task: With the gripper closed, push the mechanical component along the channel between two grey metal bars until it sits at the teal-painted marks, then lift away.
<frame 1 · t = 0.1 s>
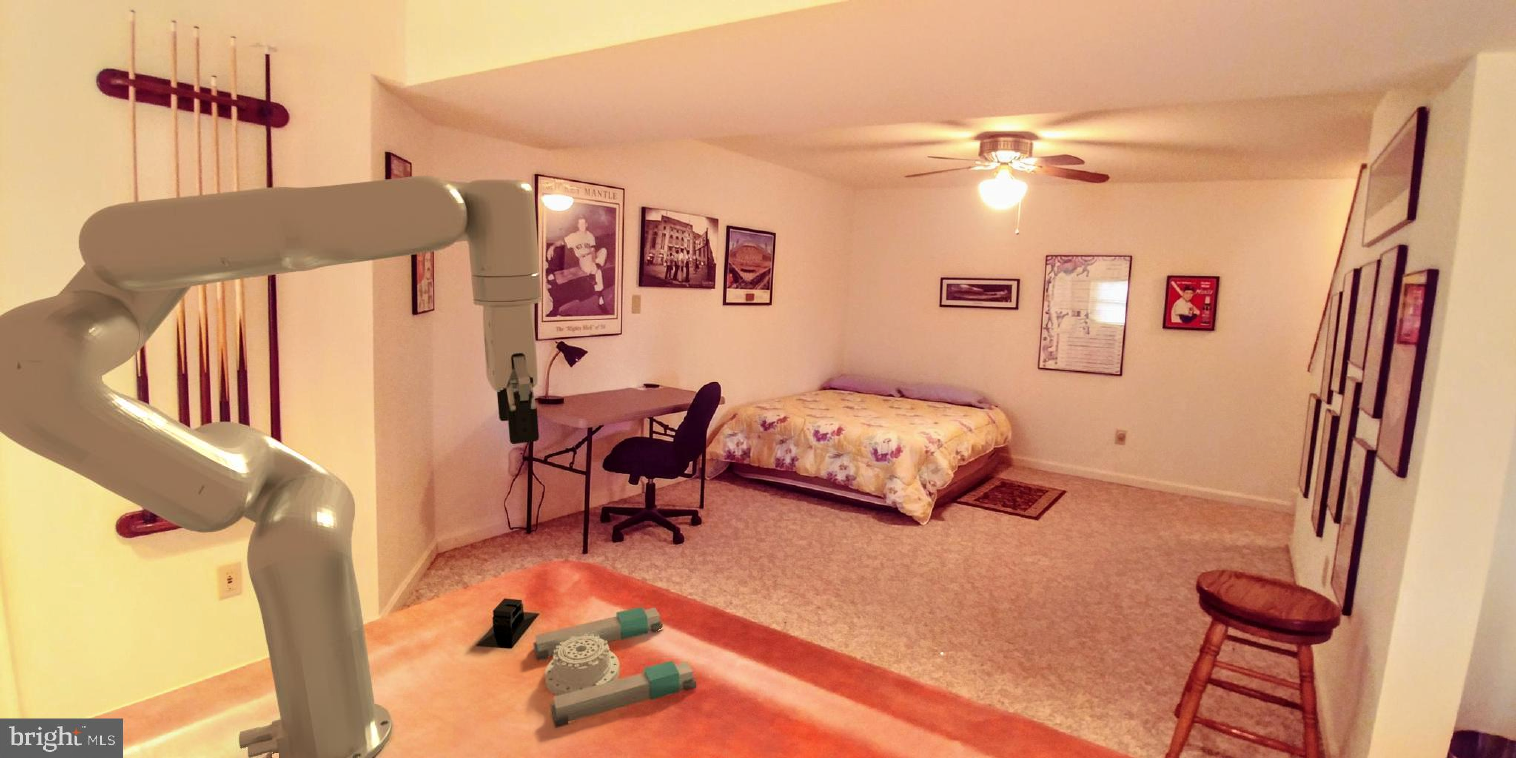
hand: (518, 430, 89), 37 cm above the table, tool pointing down, fingers open, 9 cm apart
mechanical component: (582, 678, 102), on the table
bar rails: (611, 667, 103), on the table
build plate: (509, 632, 113), on the table
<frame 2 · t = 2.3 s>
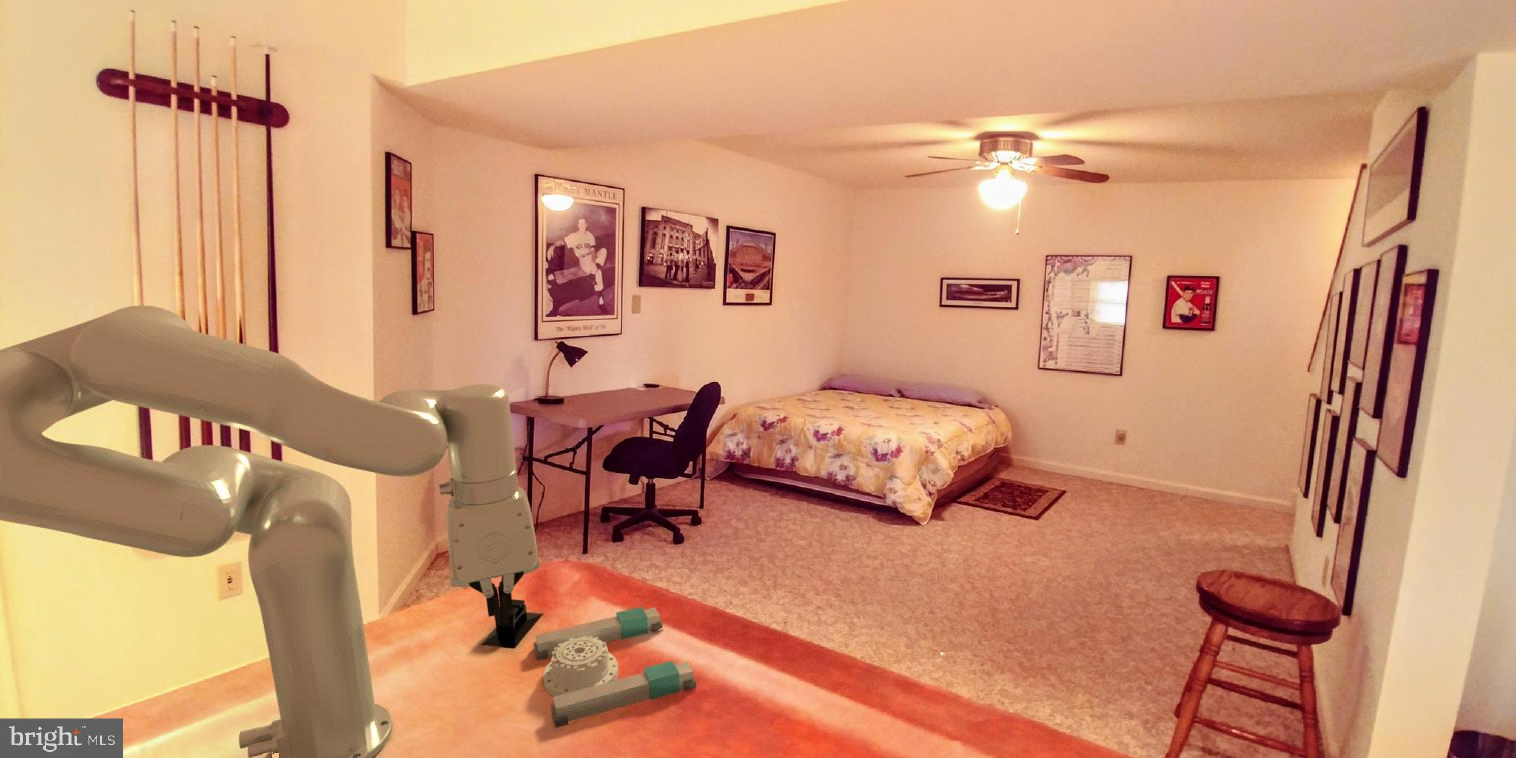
hand: (501, 617, 95), 11 cm above the table, tool pointing down, fingers closed
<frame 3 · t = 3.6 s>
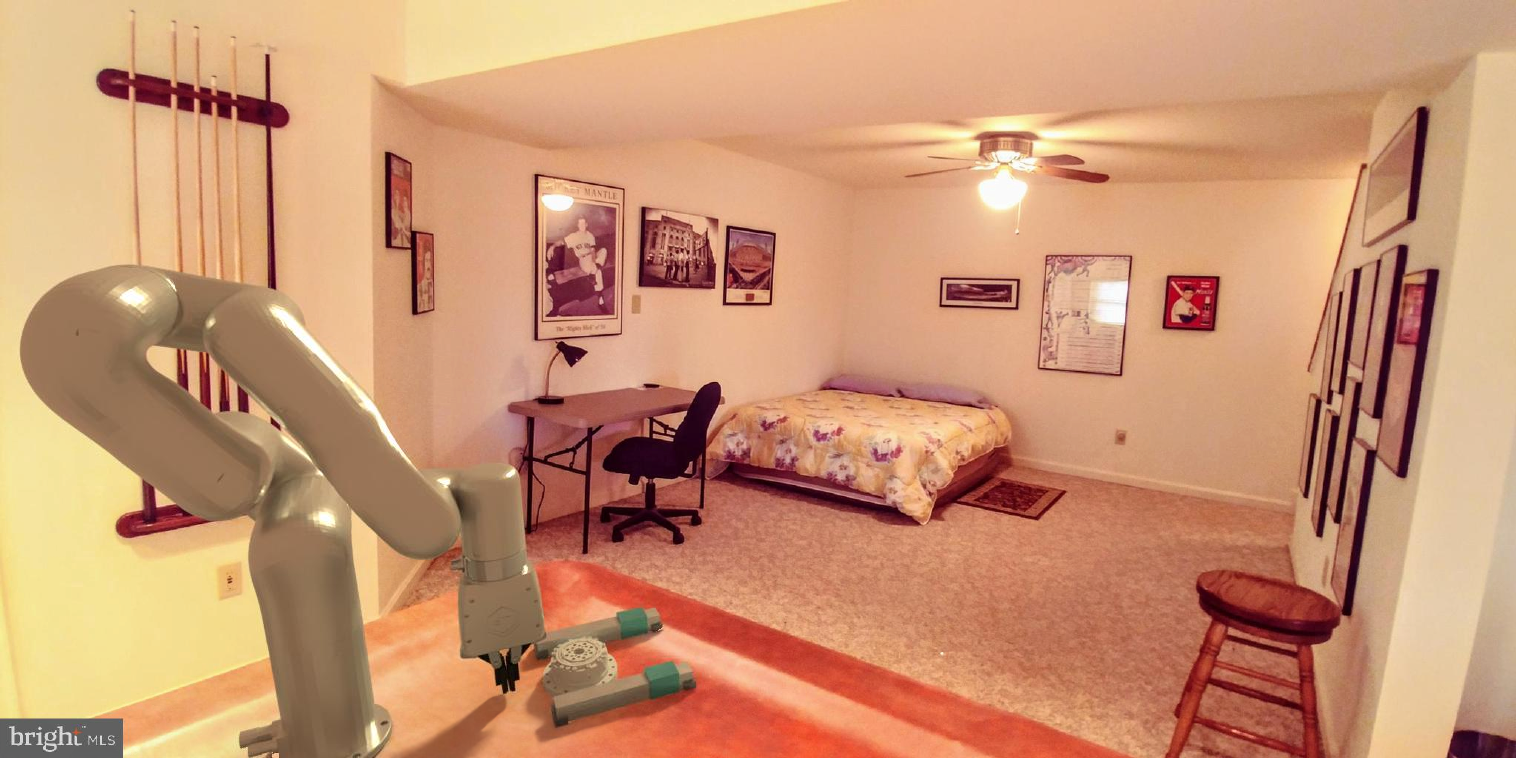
hand: (508, 686, 97), 1 cm above the table, tool pointing down, fingers closed
nothing on the table moved.
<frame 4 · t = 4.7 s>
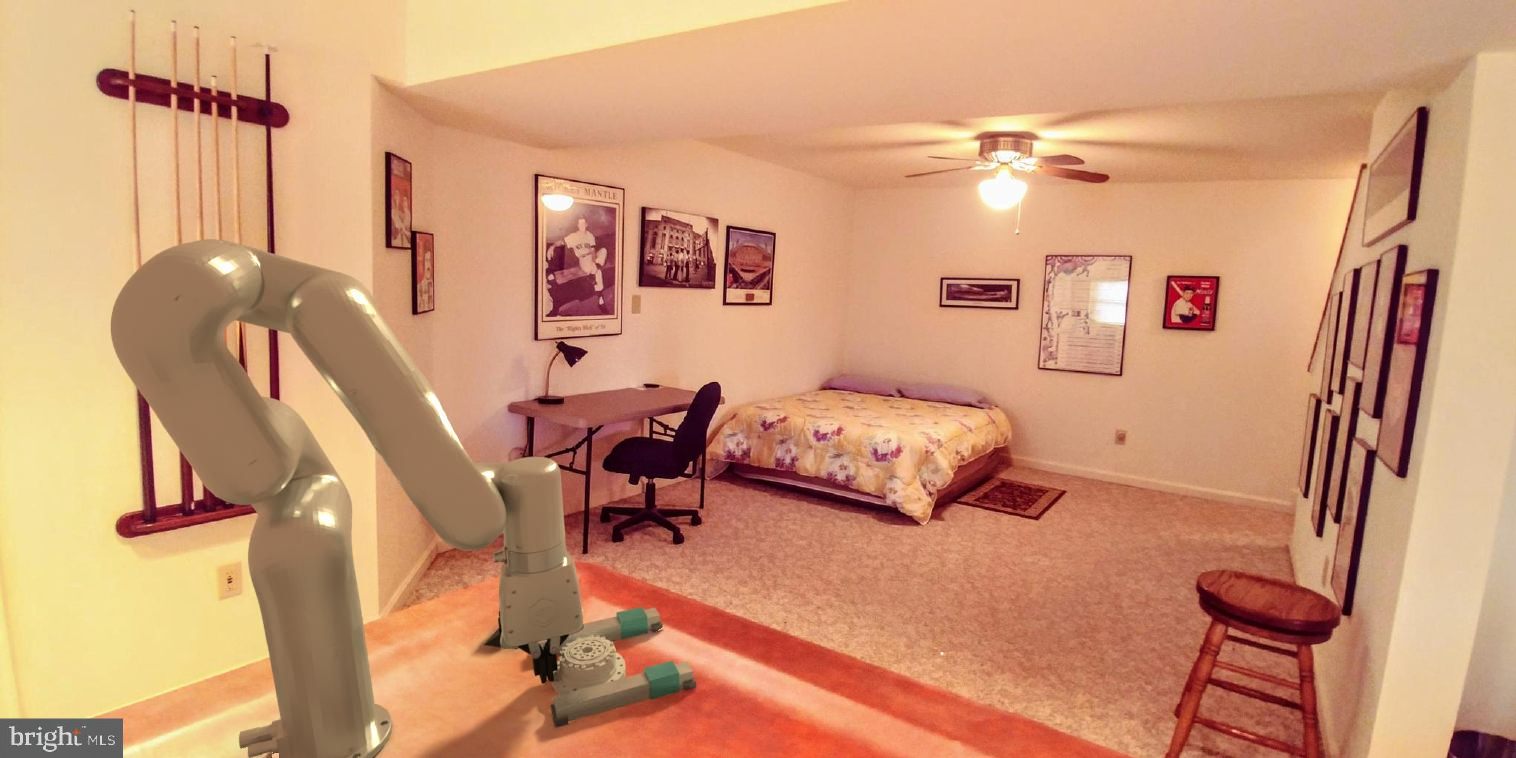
hand: (546, 676, 99), 1 cm above the table, tool pointing down, fingers closed
mechanical component: (589, 679, 101), on the table
everything else where it was.
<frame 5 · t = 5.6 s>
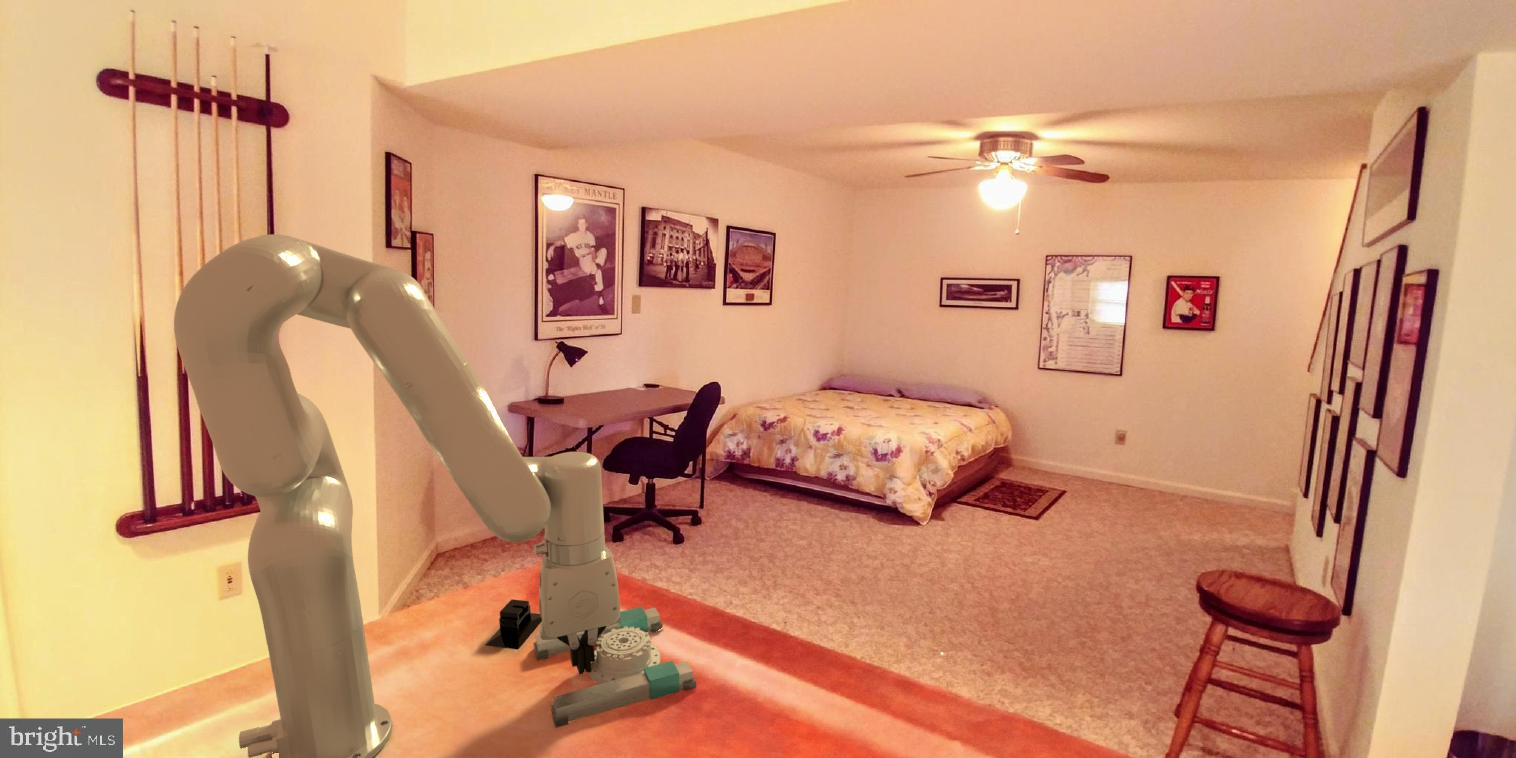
hand: (583, 667, 101), 1 cm above the table, tool pointing down, fingers closed
mechanical component: (624, 669, 103), on the table, touching gripper
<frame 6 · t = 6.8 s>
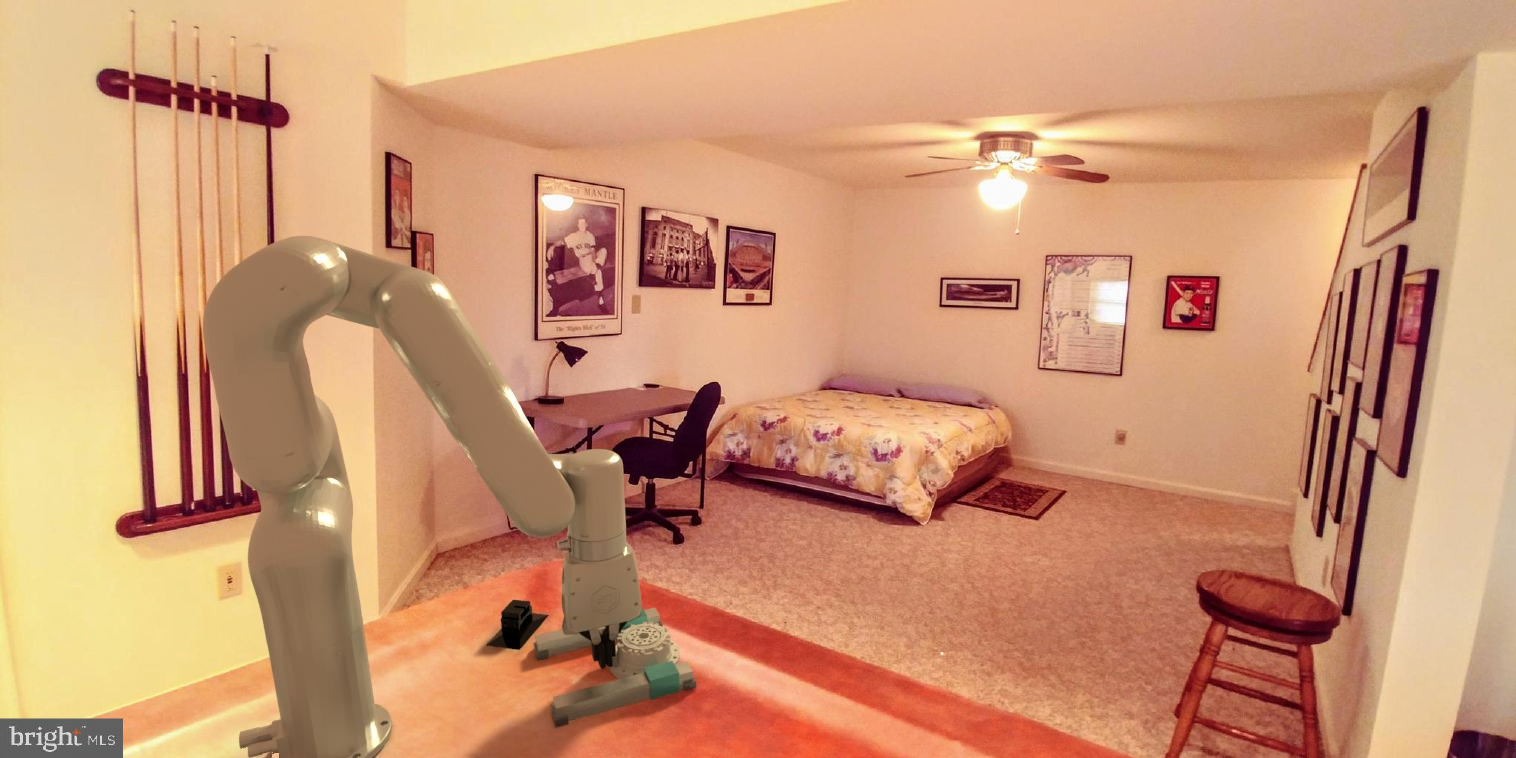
hand: (604, 662, 102), 1 cm above the table, tool pointing down, fingers closed
mechanical component: (644, 664, 105), on the table
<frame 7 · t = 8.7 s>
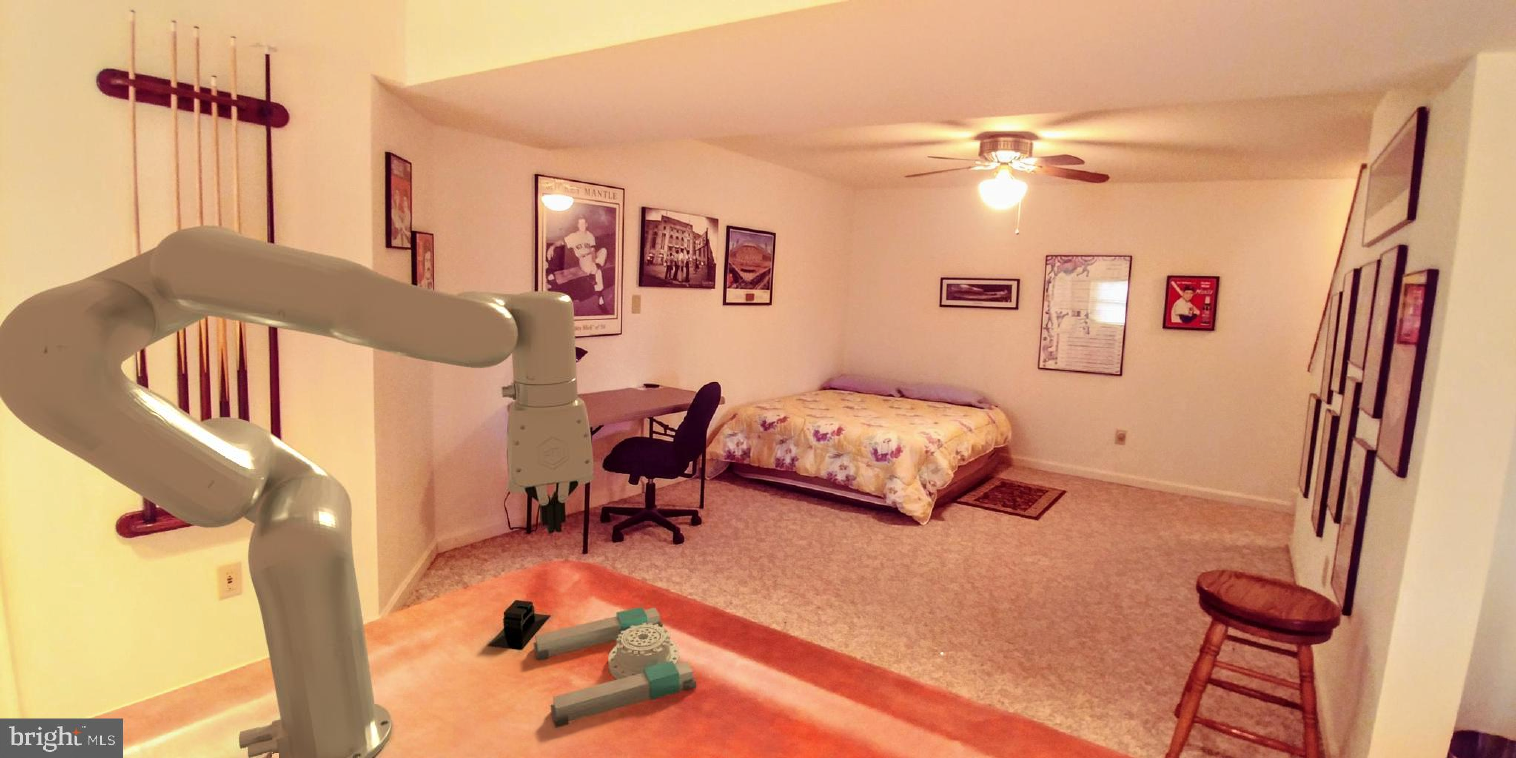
hand: (553, 528, 95), 22 cm above the table, tool pointing down, fingers closed
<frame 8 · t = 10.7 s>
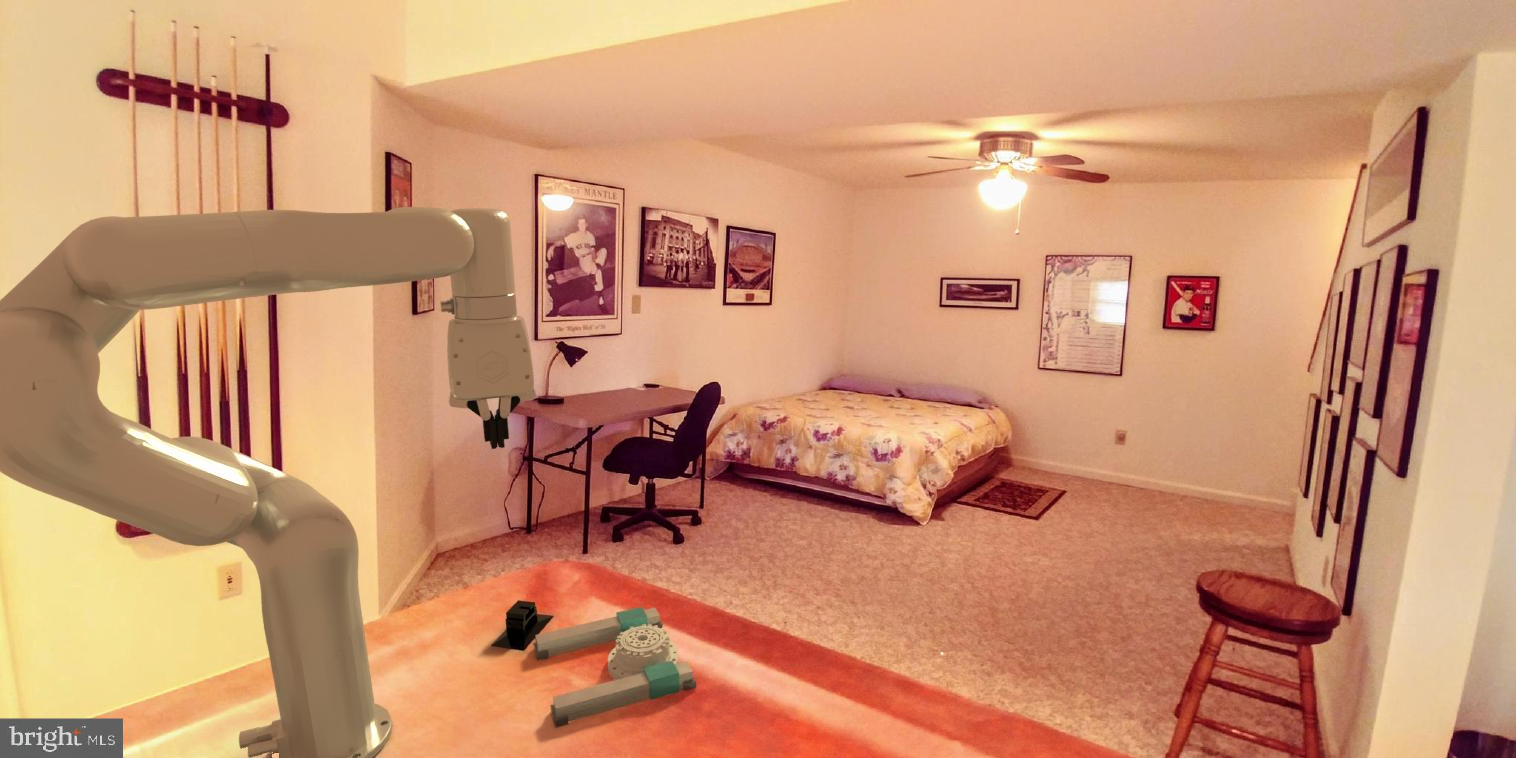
hand: (497, 445, 98), 32 cm above the table, tool pointing down, fingers closed
at the end: mechanical component inside the target area (1.3 cm from its centre), on the table; mechanical component moved 8.4 cm from its start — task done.
